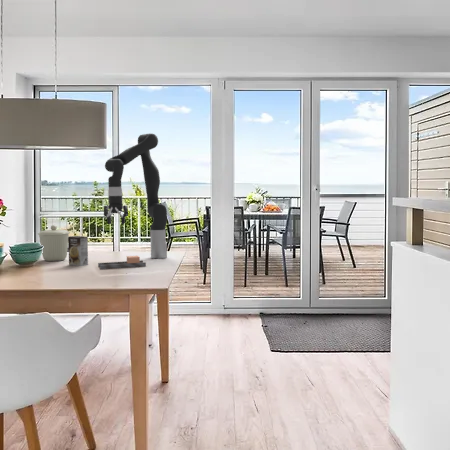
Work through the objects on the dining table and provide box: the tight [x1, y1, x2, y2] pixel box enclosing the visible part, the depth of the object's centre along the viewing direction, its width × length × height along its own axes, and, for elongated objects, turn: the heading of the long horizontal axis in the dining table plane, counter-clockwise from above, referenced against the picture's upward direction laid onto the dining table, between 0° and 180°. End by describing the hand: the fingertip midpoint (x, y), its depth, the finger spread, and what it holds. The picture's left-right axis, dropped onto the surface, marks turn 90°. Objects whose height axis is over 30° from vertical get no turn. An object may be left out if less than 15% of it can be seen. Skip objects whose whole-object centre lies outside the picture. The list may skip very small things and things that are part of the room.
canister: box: [37, 224, 70, 262], centre depth 304 cm, size 18×18×21 cm
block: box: [126, 255, 141, 263], centre depth 274 cm, size 6×6×5 cm
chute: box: [97, 260, 147, 270], centre depth 272 cm, size 24×10×3 cm, turn 110°
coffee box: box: [68, 235, 89, 267], centre depth 285 cm, size 9×6×16 cm
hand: (116, 224), depth 284 cm, fingers open, 8 cm apart
